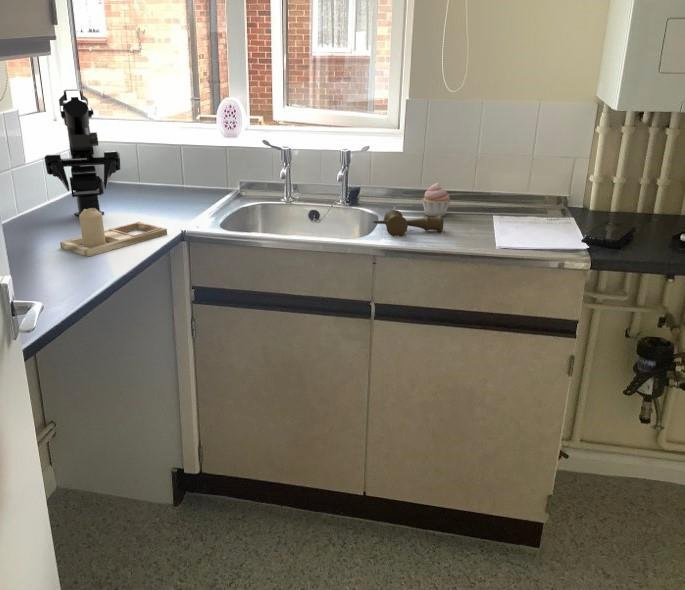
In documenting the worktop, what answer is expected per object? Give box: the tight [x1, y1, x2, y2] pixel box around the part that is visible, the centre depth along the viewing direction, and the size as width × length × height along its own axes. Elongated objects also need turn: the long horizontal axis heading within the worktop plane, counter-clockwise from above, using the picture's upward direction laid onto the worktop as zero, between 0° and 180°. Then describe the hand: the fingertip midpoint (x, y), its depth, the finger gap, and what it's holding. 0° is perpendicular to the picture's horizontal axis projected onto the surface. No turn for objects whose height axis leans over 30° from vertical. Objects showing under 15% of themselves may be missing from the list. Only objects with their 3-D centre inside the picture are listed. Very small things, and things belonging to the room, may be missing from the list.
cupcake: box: [420, 182, 452, 217], centre depth 206 cm, size 9×9×10 cm
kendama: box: [372, 209, 445, 237], centre depth 189 cm, size 6×10×20 cm
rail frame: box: [59, 221, 168, 257], centre depth 179 cm, size 12×25×2 cm, turn 144°
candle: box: [78, 208, 107, 248], centre depth 172 cm, size 6×6×10 cm
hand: (87, 189), depth 177 cm, fingers open, 9 cm apart
